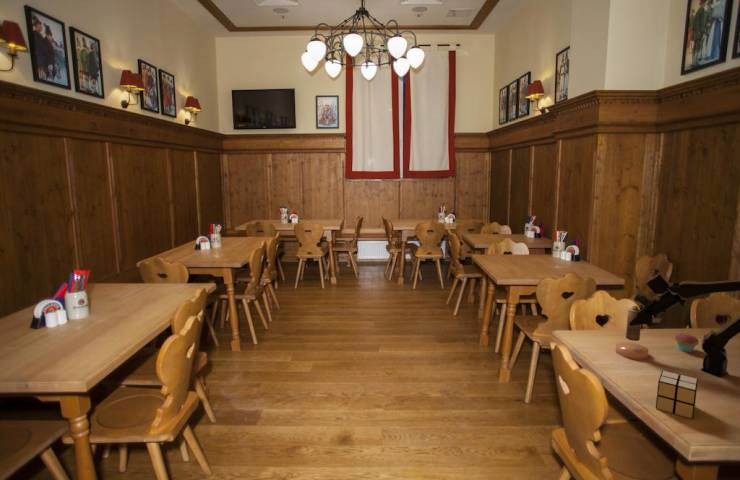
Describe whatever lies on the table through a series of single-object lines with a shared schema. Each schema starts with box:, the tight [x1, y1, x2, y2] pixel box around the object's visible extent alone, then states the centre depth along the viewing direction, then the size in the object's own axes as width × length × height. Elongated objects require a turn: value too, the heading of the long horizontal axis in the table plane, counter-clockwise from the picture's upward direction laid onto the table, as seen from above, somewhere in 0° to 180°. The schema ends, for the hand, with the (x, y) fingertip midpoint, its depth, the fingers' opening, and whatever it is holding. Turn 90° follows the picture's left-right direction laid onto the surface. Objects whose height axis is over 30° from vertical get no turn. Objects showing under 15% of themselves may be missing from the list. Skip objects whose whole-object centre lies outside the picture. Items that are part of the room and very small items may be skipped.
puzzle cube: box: [655, 370, 699, 420], centre depth 144 cm, size 10×10×10 cm
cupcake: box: [674, 325, 699, 353], centre depth 189 cm, size 9×8×12 cm
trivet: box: [614, 341, 649, 361], centre depth 187 cm, size 12×12×3 cm
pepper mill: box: [625, 305, 642, 342], centre depth 185 cm, size 5×5×14 cm
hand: (630, 323), depth 185 cm, fingers closed on pepper mill, 5 cm apart
